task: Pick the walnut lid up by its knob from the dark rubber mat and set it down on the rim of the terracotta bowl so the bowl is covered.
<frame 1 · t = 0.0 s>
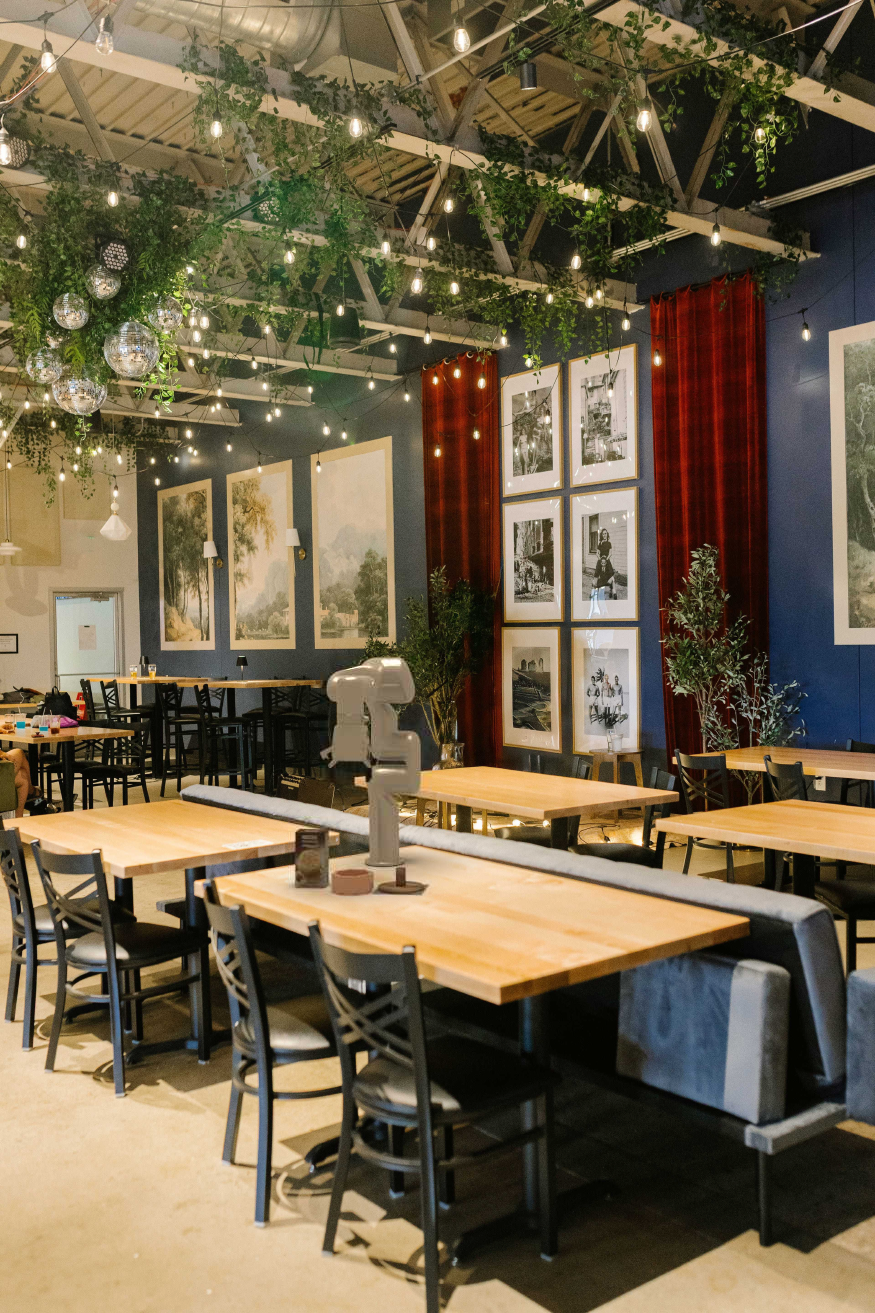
hand: (351, 781, 298), 31 cm above the table, fingers open, 9 cm apart
mat: (400, 890, 300), on the table
lid: (400, 889, 300), resting on mat
coffee box: (312, 886, 308), on the table
bowl: (352, 892, 298), on the table
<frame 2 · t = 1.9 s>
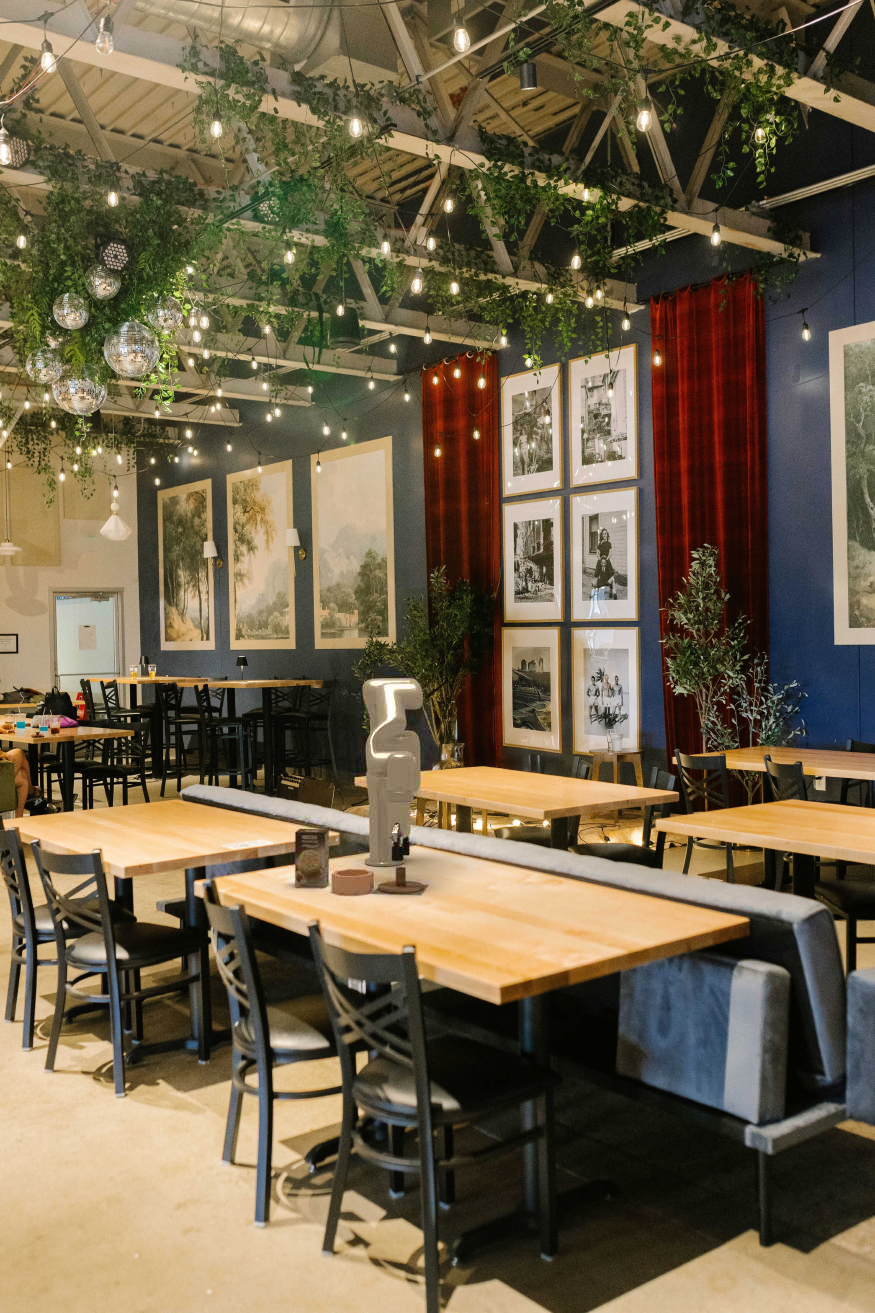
hand: (400, 858, 300), 9 cm above the table, fingers open, 9 cm apart
nothing on the table moved.
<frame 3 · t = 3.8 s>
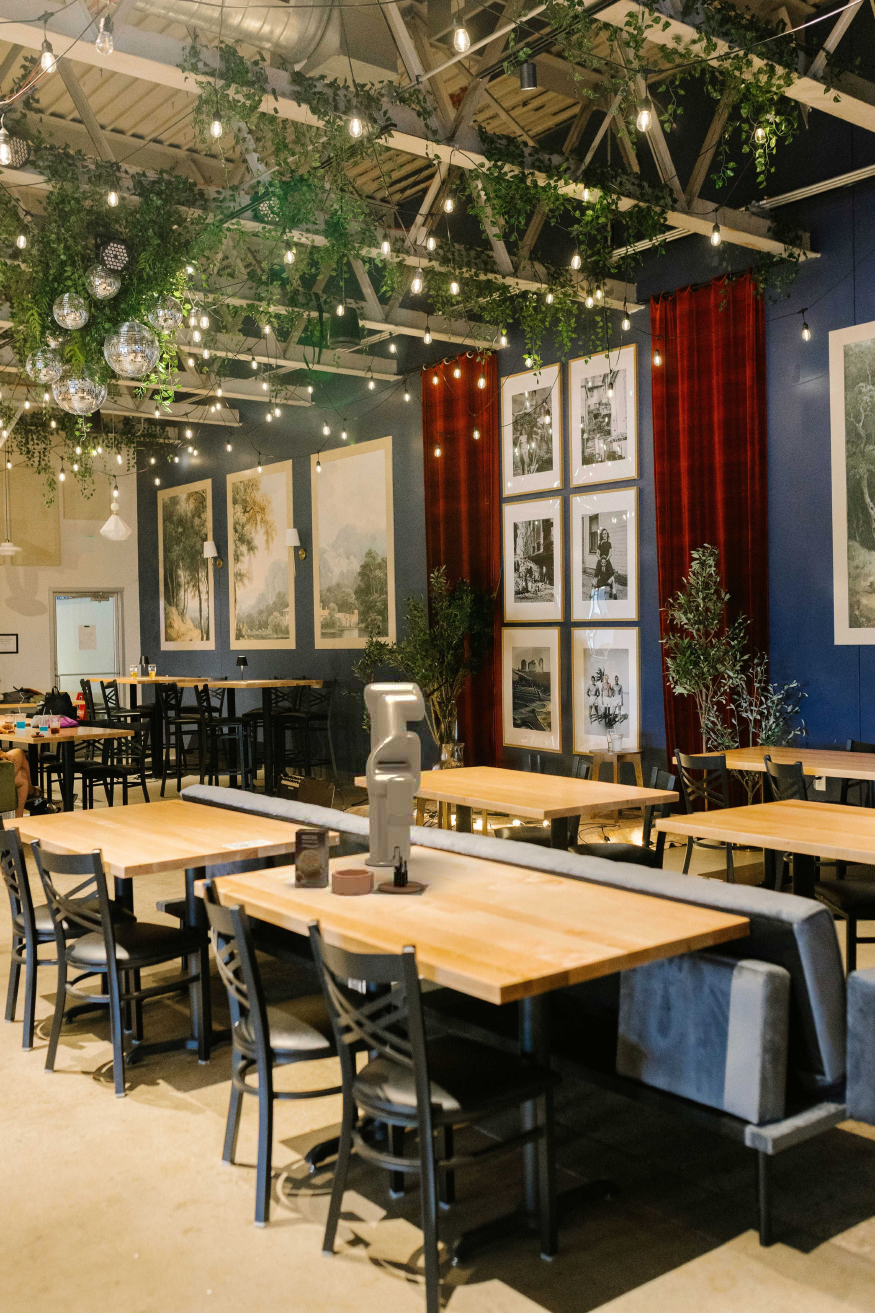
hand: (400, 884, 300), 2 cm above the table, fingers closed on lid, 2 cm apart
lid: (400, 889, 300), resting on mat, touching gripper
everything else where it was.
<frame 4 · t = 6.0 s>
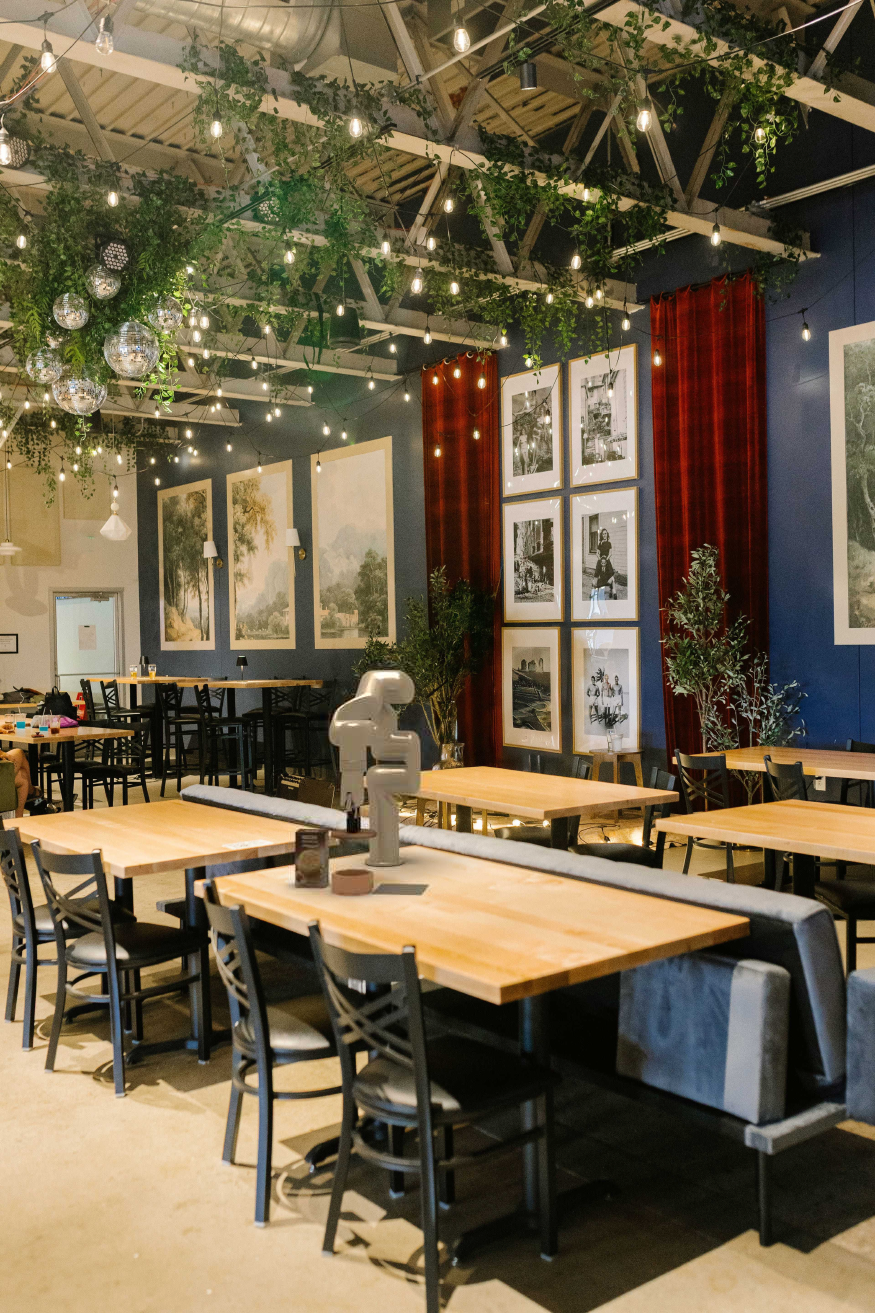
hand: (353, 831, 299), 17 cm above the table, fingers closed on lid, 2 cm apart
lid: (353, 835, 299), point 16 cm above the table, touching gripper
everything else where it was.
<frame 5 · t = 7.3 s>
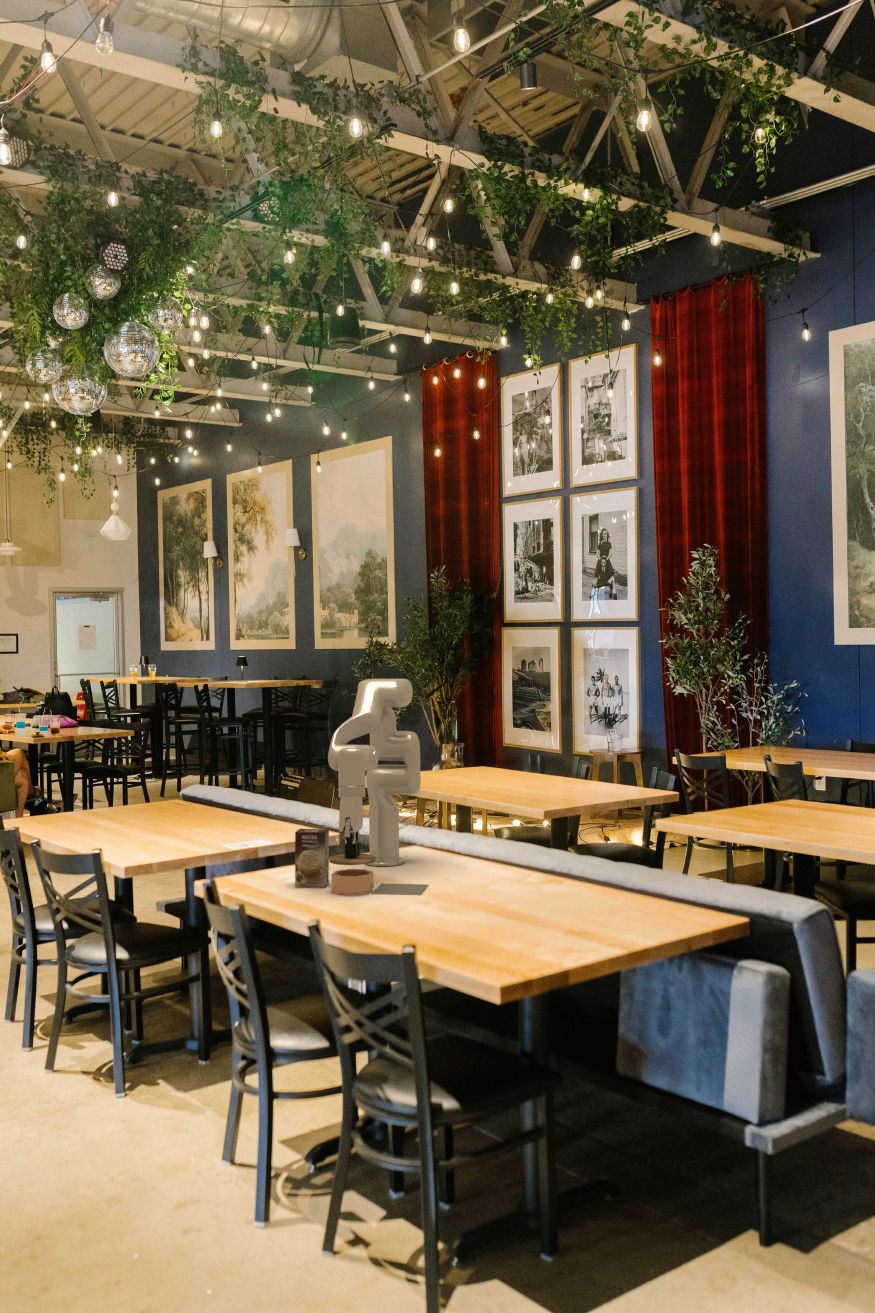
hand: (352, 856, 298), 10 cm above the table, fingers closed on lid, 2 cm apart
lid: (352, 861, 298), point 9 cm above the table, touching gripper
everything else where it was.
when the fingers open (8 cm above the table, at t = 8.4 s): lid stays where it is, resting on bowl.
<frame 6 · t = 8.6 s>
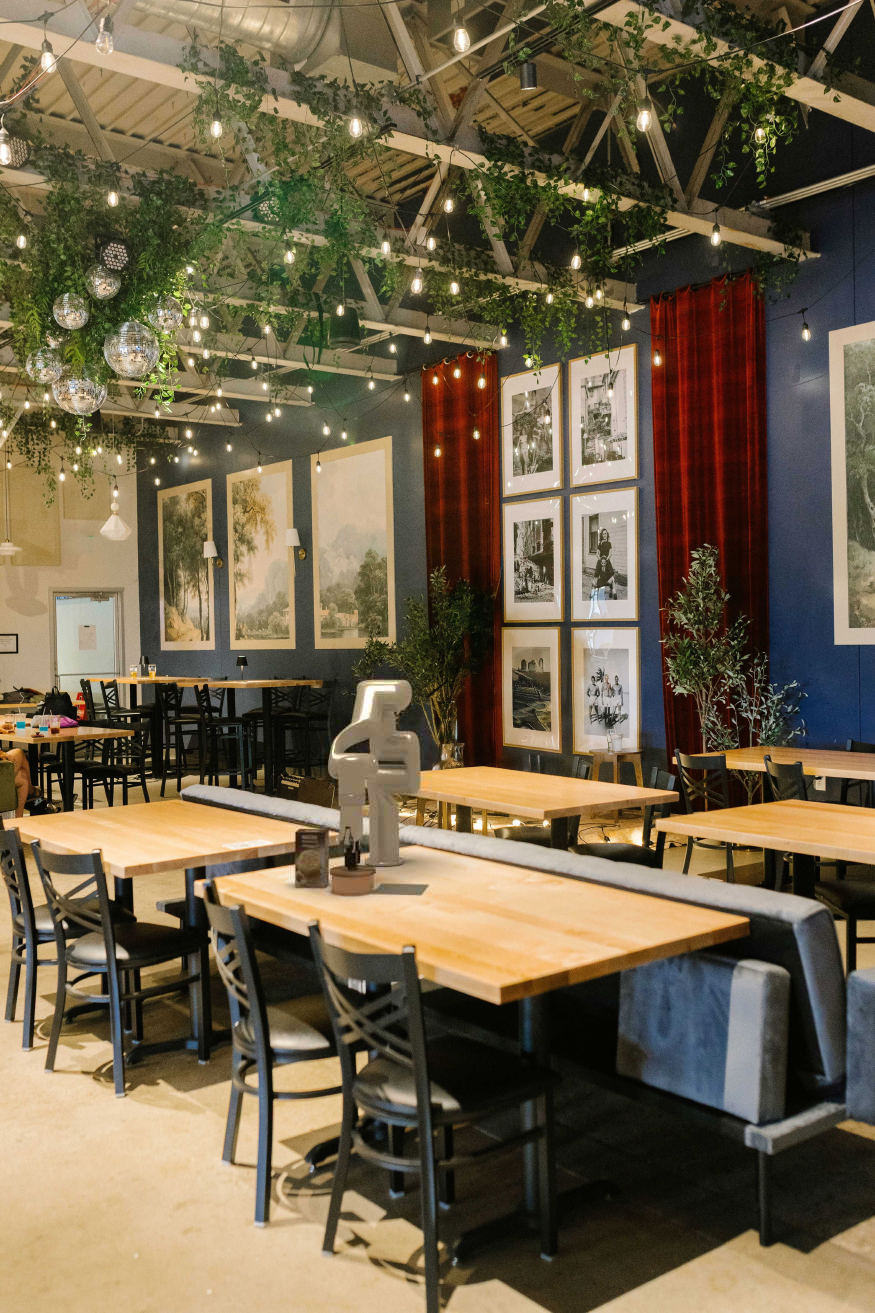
hand: (352, 864, 299), 8 cm above the table, fingers open, 4 cm apart
lid: (352, 872, 299), point 5 cm above the table, touching bowl
everything else where it was.
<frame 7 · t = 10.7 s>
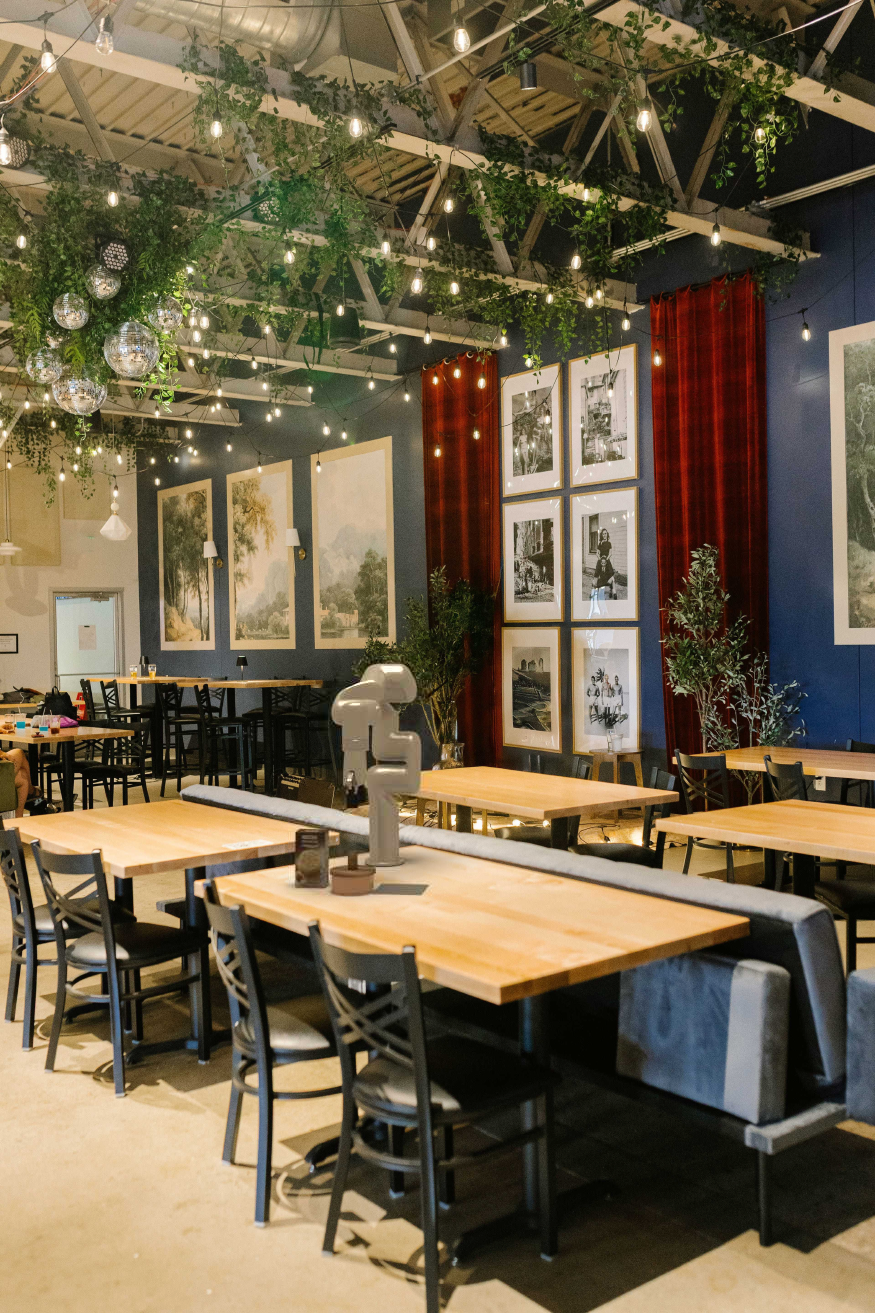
hand: (356, 805, 302), 24 cm above the table, fingers open, 9 cm apart
nothing on the table moved.
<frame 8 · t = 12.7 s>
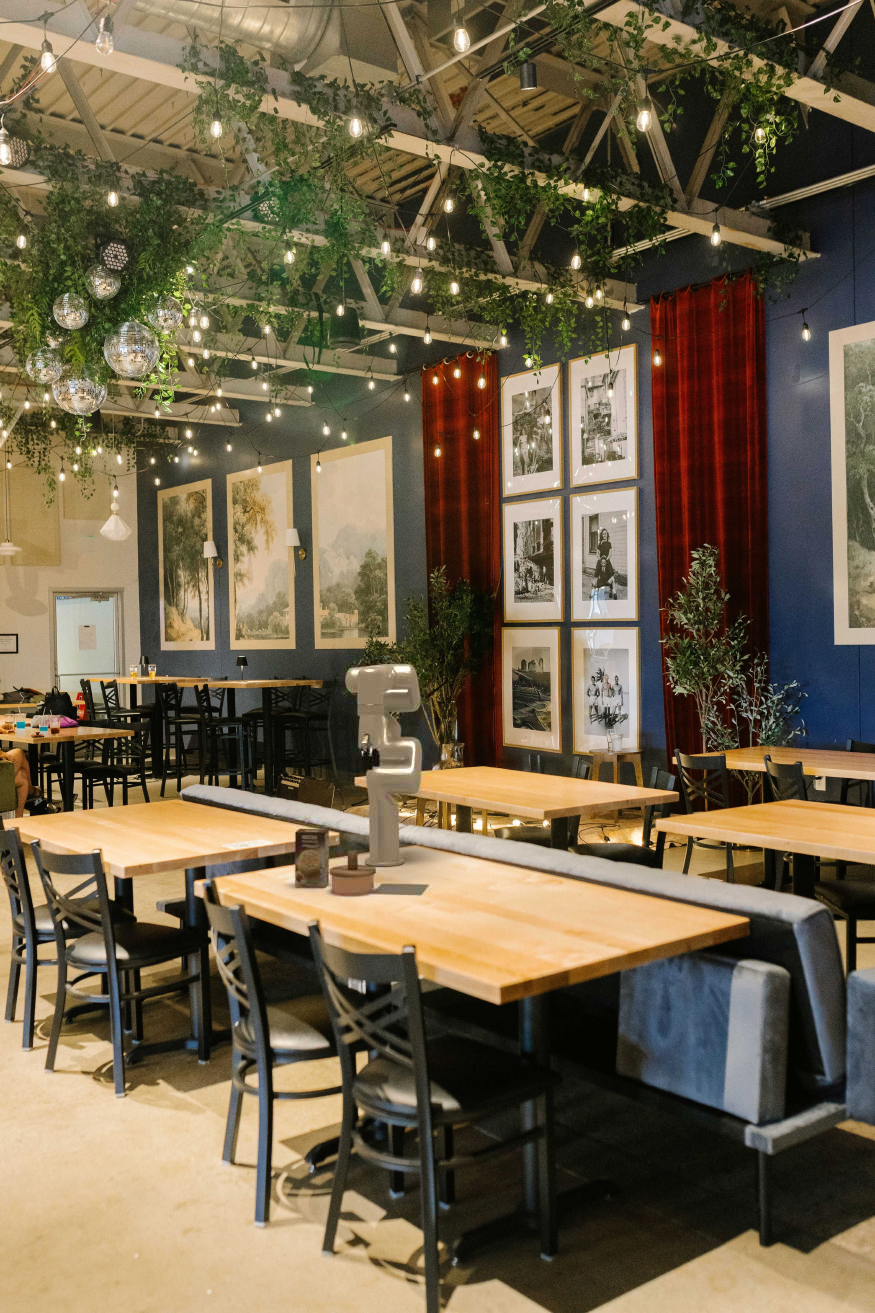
hand: (370, 768, 314), 33 cm above the table, fingers open, 9 cm apart
nothing on the table moved.
at the end: lid 0.1 cm off-centre on the bowl, point 5.5 cm above the bowl's base; lid tilted 0°; the gripper is holding nothing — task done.
